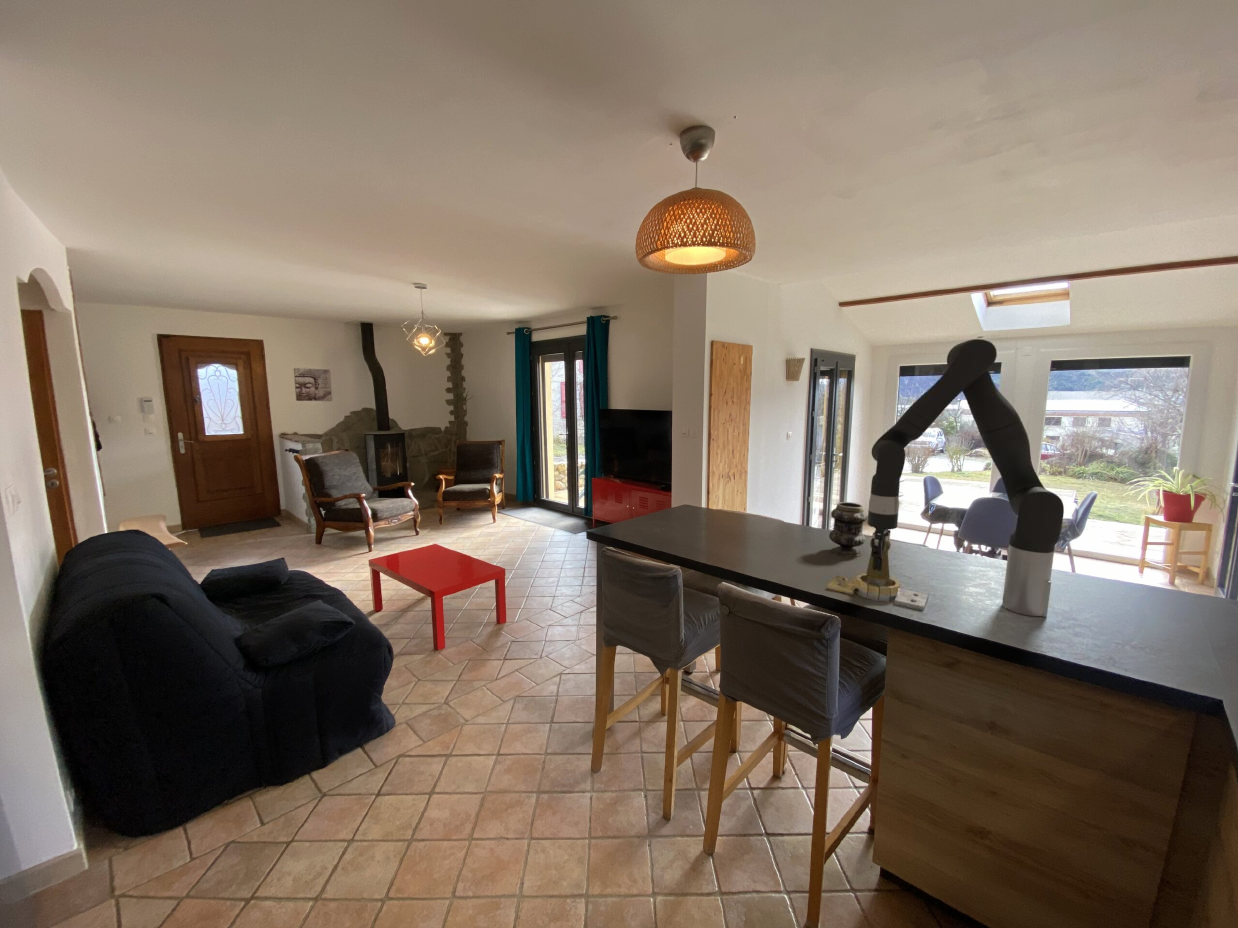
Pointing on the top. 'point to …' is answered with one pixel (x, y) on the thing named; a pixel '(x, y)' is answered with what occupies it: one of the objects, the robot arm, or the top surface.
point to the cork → (885, 565)
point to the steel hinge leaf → (897, 597)
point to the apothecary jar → (848, 528)
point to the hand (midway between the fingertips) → (878, 567)
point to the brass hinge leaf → (864, 585)
